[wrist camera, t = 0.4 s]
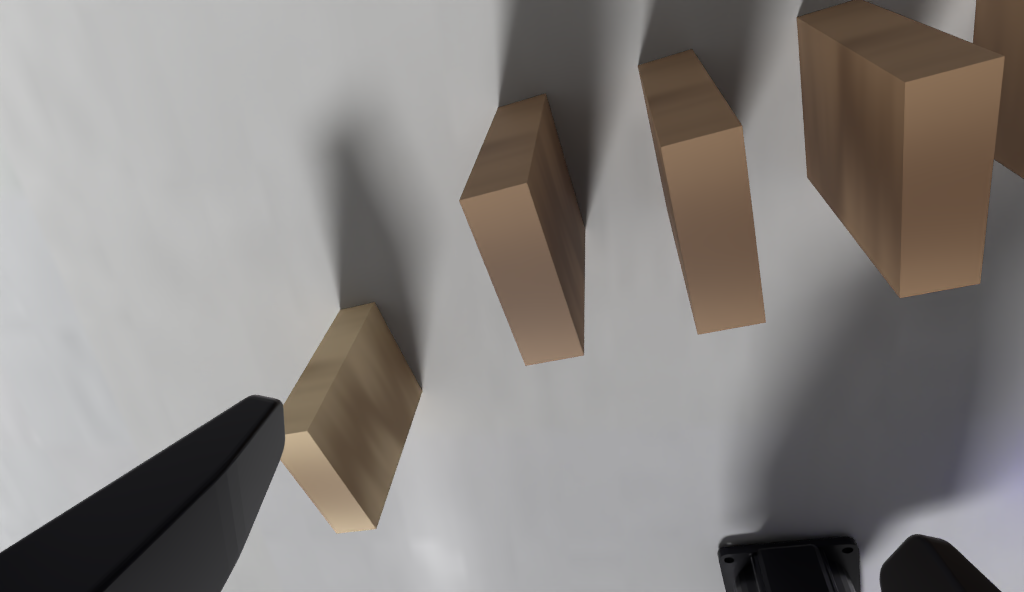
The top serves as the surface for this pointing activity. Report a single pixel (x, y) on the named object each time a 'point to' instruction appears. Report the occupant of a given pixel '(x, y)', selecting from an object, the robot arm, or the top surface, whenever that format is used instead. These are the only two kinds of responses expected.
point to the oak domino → (350, 419)
